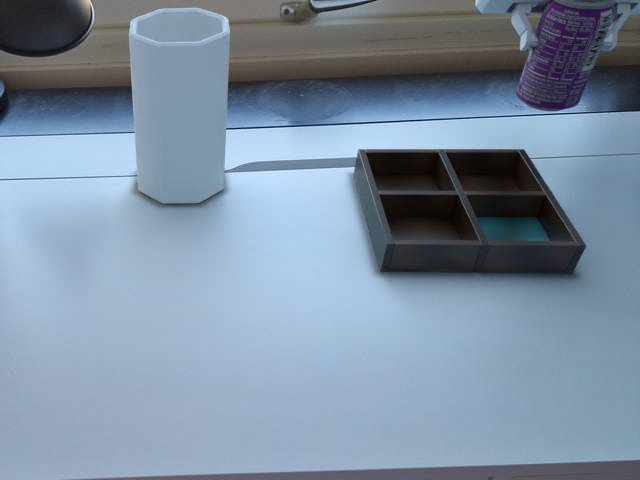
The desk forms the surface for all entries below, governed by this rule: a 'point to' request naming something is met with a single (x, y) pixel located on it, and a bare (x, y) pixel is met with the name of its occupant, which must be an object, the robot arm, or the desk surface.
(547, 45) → the beverage can
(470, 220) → the grid
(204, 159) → the cup
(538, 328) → the desk surface
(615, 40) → the robot arm
